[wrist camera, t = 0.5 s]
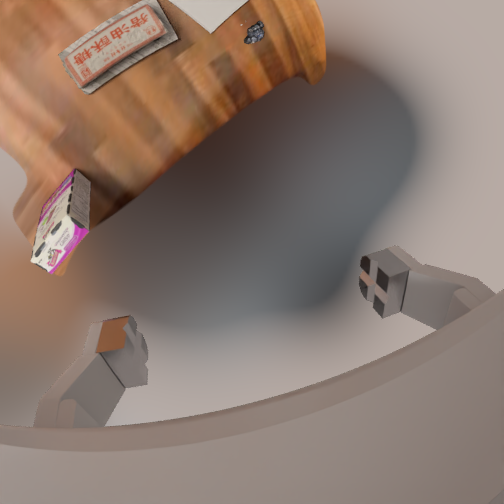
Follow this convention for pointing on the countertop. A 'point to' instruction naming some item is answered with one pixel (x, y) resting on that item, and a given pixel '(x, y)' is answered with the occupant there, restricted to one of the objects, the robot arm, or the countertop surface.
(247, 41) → the blueberries
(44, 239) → the candy bar box
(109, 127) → the countertop surface
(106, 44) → the packaged product
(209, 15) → the rubber mat
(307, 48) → the countertop surface
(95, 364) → the robot arm
